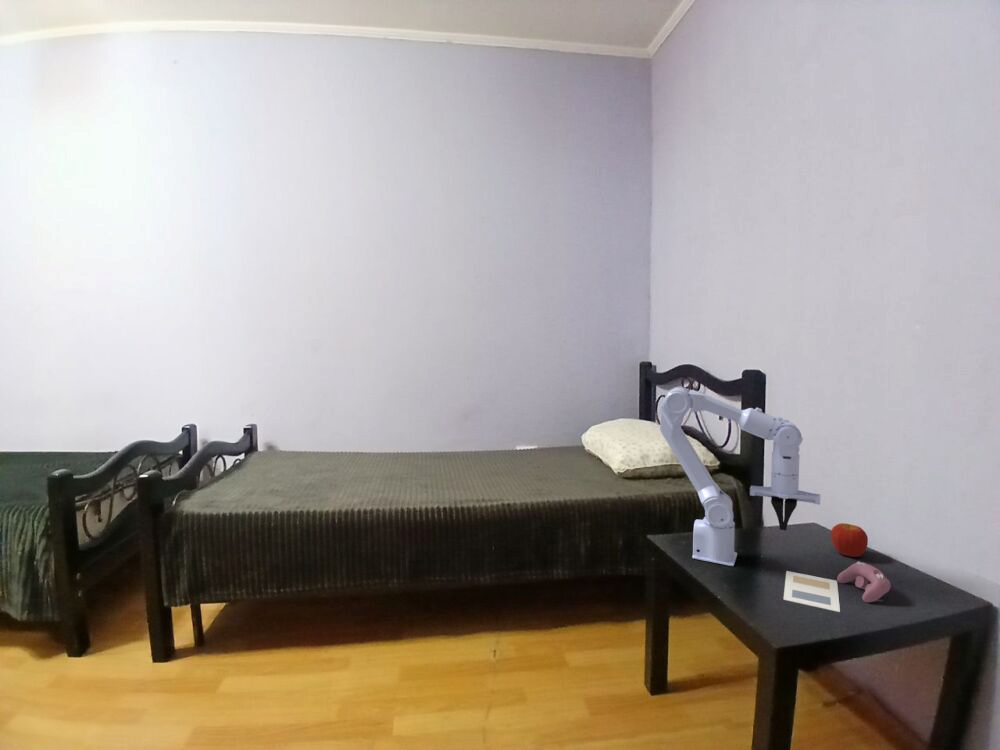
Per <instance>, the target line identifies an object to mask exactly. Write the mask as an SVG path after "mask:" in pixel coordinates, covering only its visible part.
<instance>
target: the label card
mask: <svg viewBox="0 0 1000 750" xmlns="http://www.w3.org/2000/svg"><path fill="white" fill-rule="evenodd" d="M783 591H784V592H783V600H784V601H788V602H792V603H796V604H801V605H805V606H811V607H815V608H819V609H824V610H827V611H828V610H829V611H833V612H837V613H841V608H840V607H841V605H840V598H839V587H838V580H836V579H830V578H824V577H819V576H815V575H810V574H805V573H798V572H795V571H789V570H786V573H785V581H784V589H783Z"/></svg>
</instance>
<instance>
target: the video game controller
mask: <svg viewBox="0 0 1000 750" xmlns="http://www.w3.org/2000/svg"><path fill="white" fill-rule="evenodd" d="M854 580H855V583H854V584H855V587H857V588H859V589H861V590H864V592H863V594H862V597H861V598H862V601H863V602H864V603H868V604H869V603H874V602H876V601H878V600H879V599H881V598H882V597H883V596H884V595H885V594H887V593H888V592H889V591H890V590H891V586H892V585H891V581H890V580H889V579H888V577H886V576H885V574H884V572H882V571H881V570H880V569H879V568H877V567H875V566H873V565H871V564H868V563H865V562H860V561H857V562H855V563H852V564H851V565H850V566H848V567H847V568H846V569H844V570H843V571H841V572H840V573H839V574H838V575H837V580H836V581H837V583H839V584H847V583H850V582H853V581H854ZM869 582H870V583H869Z"/></svg>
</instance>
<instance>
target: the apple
mask: <svg viewBox="0 0 1000 750" xmlns="http://www.w3.org/2000/svg"><path fill="white" fill-rule="evenodd" d="M830 539H831V542H832V545H833V546H834V547H833V548H834V549H835V551H837V552H838V553H840V554H841V555H844V556H847V557H852V558H858V557H861V556H862V555H863V554H864V553H865V551H866V550H867V548H868V543H869V541H868V540H869V537H868V534H867V533H866V531H864V529H863V528H862V527H861V526H858V525H853V524H850V523H843V522H842V523H838V524H836V525H834V526H833V527H832V528H831V530H830Z"/></svg>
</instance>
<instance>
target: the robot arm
mask: <svg viewBox="0 0 1000 750" xmlns="http://www.w3.org/2000/svg"><path fill="white" fill-rule="evenodd" d="M691 408H692V409H691ZM690 409H691V413H697V412H702V411H705V412H708V413H711V414H713V415H716V416H719V417H721V418H725V419H727V420H731V421H733V422H736V423H737V424H738V426H739V429H740V430H742V431H745V432H746V433H749V434H751V435H753V436H756V437H759V438H762V439H763V440H766V441H773V443H772V444H773V445H772V452H771V472H770V474H771V475H770V478H771V479H770V486H761V485H760V486H759V485H750V487H749V496H753V497H755V496H758V497H764V498H765V497H767V498H770V499H771V500H770V503H771V506H772V508H773V509H774V512H775V515H776V517H777V520H778V524H779V526H778V527H779V530H781V531H787V529H788V528H787V527H788V523H789V521H790V518H791V516H792V515H793V512H794V511H795V509H796V508H797V505H798V502H803V503H810V504H814V505H818V506H819V505H820V506H821V494H820V493H814V492H809V491H804V490H800V489H799V481H800V480H799V478H800V477H799V476H800V446H801V444H802V442H803V440H804V439H803V437H802V433H801V431H800V429H799V428H798V427H797V425H796V424H794V423H793V422H791V421H789V420H788V419H784V417H781V416H777V417H775V416H773V415H771V414H768V413H765V412H763V410H762V408H759V407H756V408H753V407H749V408H746V409H741V408H738V407H736V406H733V405H731V404H728V403H726V402H724V401H722V400H719V399H717V398H715V397H712V396H710V395H708V394H705V393H702V392H701V391H697V390H693V389H688V388H686V387H683V386H675V387H673V388H671V389H670V390H669V391H668V393H666V395H665V397H664V399H663V401H662V403H661V405H660V421H659V422H660V423H659V430H660V432H661V433H660V434H661V435H662V436H663V438H664V439H665V441H666V443H667V445H668V446H669V447H670V449H671V452H672V453H673V454H674V456H675V457H676V459H677V461H678V463H679V464H680V466H681V468H682V469H683V471H684V472H685V474H686V476H687V478H688V479H689V481H690V482H691V484H692V485H693V487H694V489H695V490H696V492H697V494H698V497H699V501H700V503H701V505H702V506H703V508H704V515H705V516H704V517H703V519H695V520H694V523H693V533H692V534H693V535H692V536H693V537H692V538H693V539H692V559H694V560H699V561H704V562H710V563H715V564H720V565H724V566H729V567H734V566H735V562H736V560H737V556H738V553H737V552H735V527H736V526H735V525H736V523H735V521H734V511H733V505H734V503H733V500H732V499H731V497H730V496H729V495H728V494H727V493H725V492H724V491H723V490H722V489H721V488H720V486H719V485H718V484H717V483H716V482H715V481H714V479H713V478H712V476H711V474H710V472H709V471H708V469H707V467H706V466H705V465H704V462H703V461H702V459H701V458H700V457H699V454H698V453H697V451H696V450H695V448H694V446H693V445H692V444H691V443H692V442H691V441H690V440H689V438H688V436H687V435H686V434H685V432H684V430H683V429H682V424H683V421H684V417H685V416H686V415H687V413H688V412H689V410H690Z"/></svg>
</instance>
